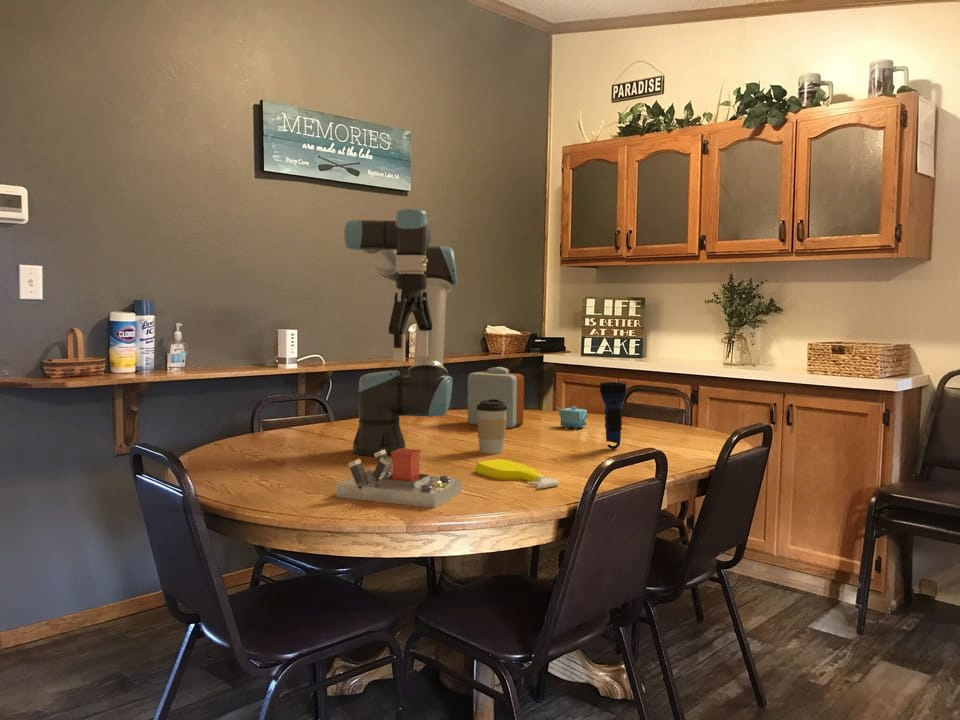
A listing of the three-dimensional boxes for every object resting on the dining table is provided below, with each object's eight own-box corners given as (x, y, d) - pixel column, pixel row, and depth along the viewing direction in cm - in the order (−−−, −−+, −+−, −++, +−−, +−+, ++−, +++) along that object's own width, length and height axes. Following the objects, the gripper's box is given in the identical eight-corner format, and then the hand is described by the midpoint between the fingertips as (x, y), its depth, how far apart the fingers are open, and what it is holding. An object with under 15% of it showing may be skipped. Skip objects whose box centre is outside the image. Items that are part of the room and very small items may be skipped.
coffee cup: (503, 455, 223) (504, 403, 222) (473, 453, 225) (473, 402, 224) (509, 449, 232) (509, 399, 231) (479, 447, 234) (479, 398, 233)
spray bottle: (503, 468, 208) (568, 487, 188) (470, 473, 201) (535, 494, 182) (503, 457, 207) (568, 475, 188) (471, 462, 201) (535, 481, 181)
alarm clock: (524, 426, 276) (524, 368, 274) (511, 429, 268) (512, 369, 267) (479, 421, 285) (480, 365, 284) (466, 424, 278) (467, 366, 276)
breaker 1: (356, 484, 173) (347, 463, 173) (361, 482, 175) (353, 461, 175) (362, 481, 172) (354, 460, 172) (368, 479, 174) (359, 458, 175)
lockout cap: (411, 485, 173) (411, 453, 173) (391, 483, 175) (391, 452, 174) (420, 480, 178) (420, 449, 177) (400, 478, 180) (400, 448, 179)
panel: (336, 497, 174) (336, 478, 174) (368, 482, 188) (368, 465, 188) (434, 508, 166) (434, 488, 166) (461, 492, 180) (461, 474, 180)
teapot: (551, 427, 274) (552, 406, 273) (558, 425, 279) (559, 404, 278) (583, 430, 268) (583, 408, 267) (590, 428, 273) (590, 406, 272)
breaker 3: (371, 475, 178) (381, 457, 177) (376, 473, 180) (386, 455, 179) (378, 479, 177) (387, 461, 176) (383, 477, 180) (392, 459, 178)
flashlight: (593, 447, 236) (594, 381, 235) (614, 445, 240) (615, 380, 238) (609, 452, 229) (610, 384, 227) (630, 450, 233) (632, 383, 231)
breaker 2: (381, 473, 184) (373, 453, 184) (386, 471, 186) (378, 451, 186) (388, 470, 183) (380, 450, 184) (392, 468, 185) (384, 449, 186)
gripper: (402, 272, 180) (403, 364, 182) (445, 273, 203) (444, 354, 205) (373, 272, 182) (374, 363, 185) (418, 273, 205) (418, 353, 208)
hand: (411, 358), depth 195 cm, fingers open, 13 cm apart
